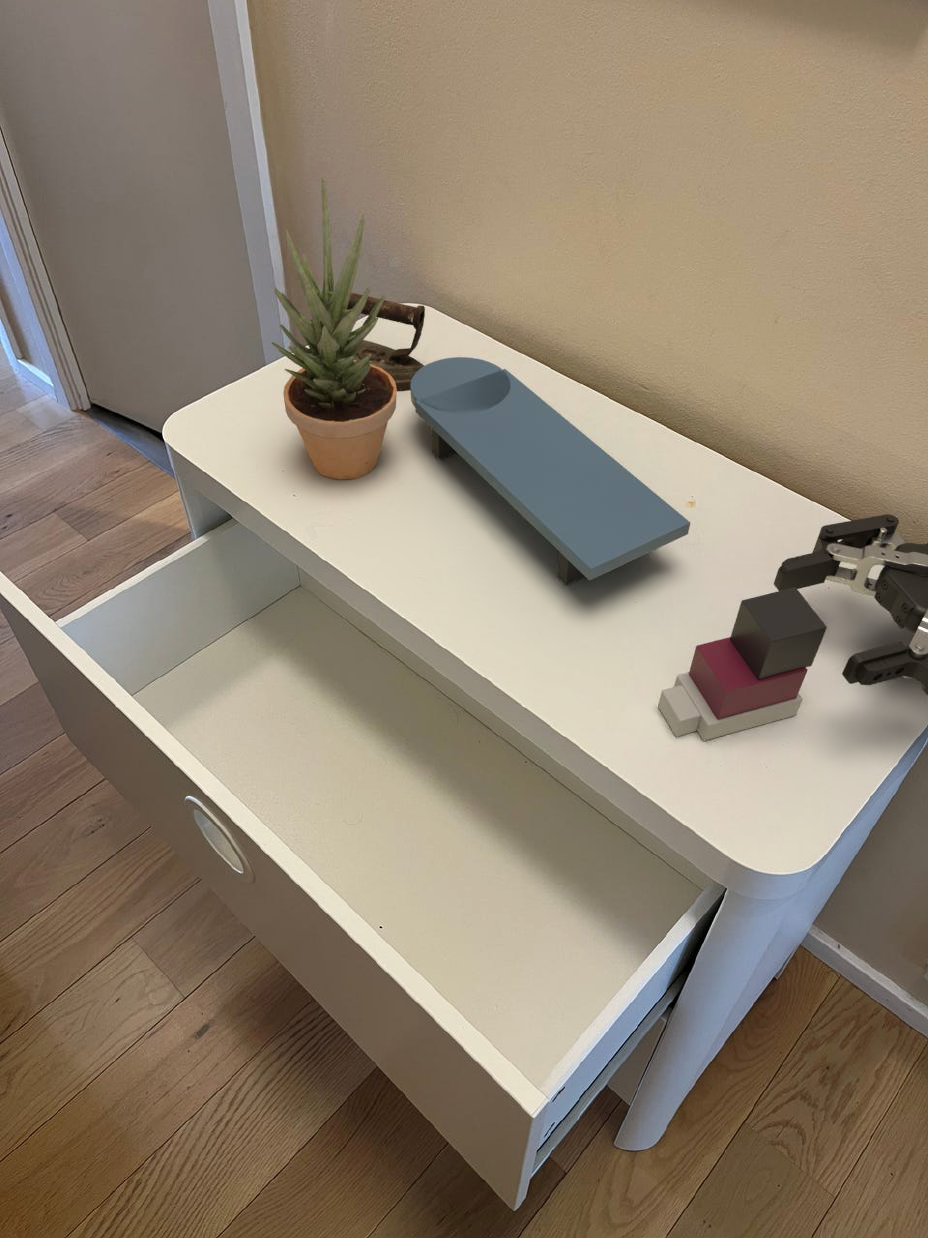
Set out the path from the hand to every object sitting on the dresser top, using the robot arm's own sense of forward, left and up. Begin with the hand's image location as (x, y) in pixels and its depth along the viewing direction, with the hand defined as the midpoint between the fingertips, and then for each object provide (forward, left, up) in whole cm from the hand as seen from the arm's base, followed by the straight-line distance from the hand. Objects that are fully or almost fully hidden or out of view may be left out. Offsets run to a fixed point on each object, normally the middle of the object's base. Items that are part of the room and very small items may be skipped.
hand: (812, 623), depth 63 cm
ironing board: (+27, -9, -7) cm, 29 cm away
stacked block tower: (+3, +4, -7) cm, 8 cm away
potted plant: (+42, -5, -7) cm, 43 cm away
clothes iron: (+47, -17, -7) cm, 51 cm away
